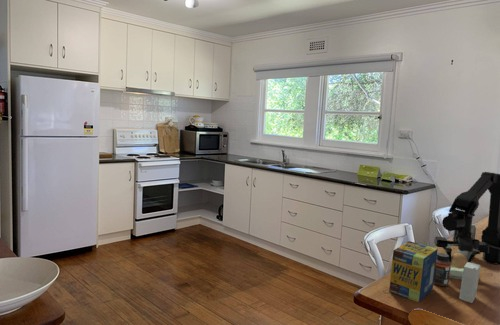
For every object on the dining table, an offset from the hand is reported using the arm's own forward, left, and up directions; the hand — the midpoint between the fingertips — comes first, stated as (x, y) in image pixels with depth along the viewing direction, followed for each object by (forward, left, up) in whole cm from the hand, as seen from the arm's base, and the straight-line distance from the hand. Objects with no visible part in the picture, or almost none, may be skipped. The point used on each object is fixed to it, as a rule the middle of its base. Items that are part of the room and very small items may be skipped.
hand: (458, 265), depth 153 cm
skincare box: (+2, +23, -4) cm, 23 cm away
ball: (0, 0, +2) cm, 2 cm away
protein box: (+20, +23, -4) cm, 31 cm away
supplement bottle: (+9, +13, -4) cm, 16 cm away
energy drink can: (-9, -25, -4) cm, 27 cm away
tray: (0, 0, -4) cm, 4 cm away
